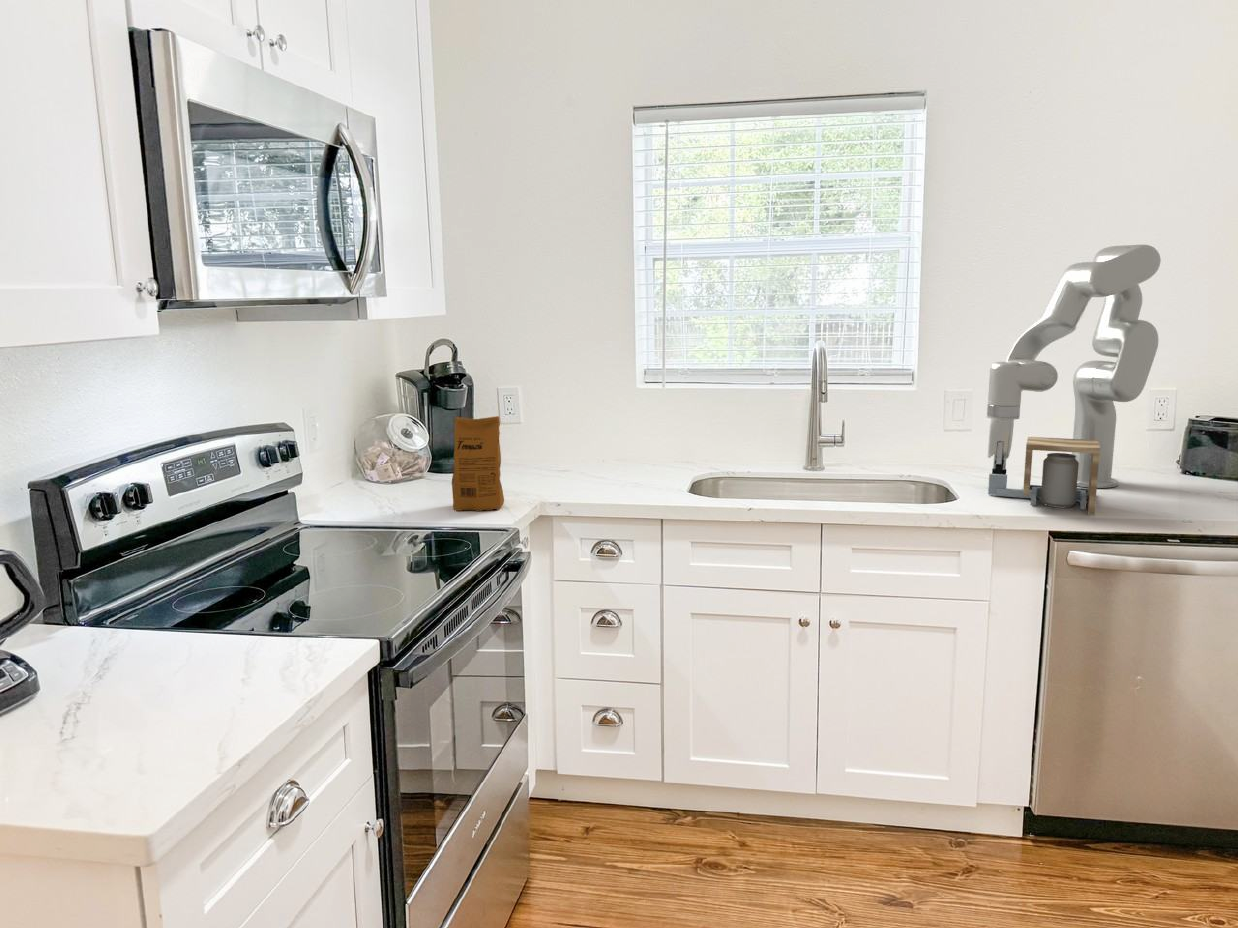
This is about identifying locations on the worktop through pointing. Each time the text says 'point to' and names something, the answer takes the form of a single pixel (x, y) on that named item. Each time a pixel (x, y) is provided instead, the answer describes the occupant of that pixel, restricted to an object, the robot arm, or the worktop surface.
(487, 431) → the coffee package
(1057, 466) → the can
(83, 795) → the worktop surface
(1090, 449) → the tunnel
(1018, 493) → the blue-grey forked pusher
